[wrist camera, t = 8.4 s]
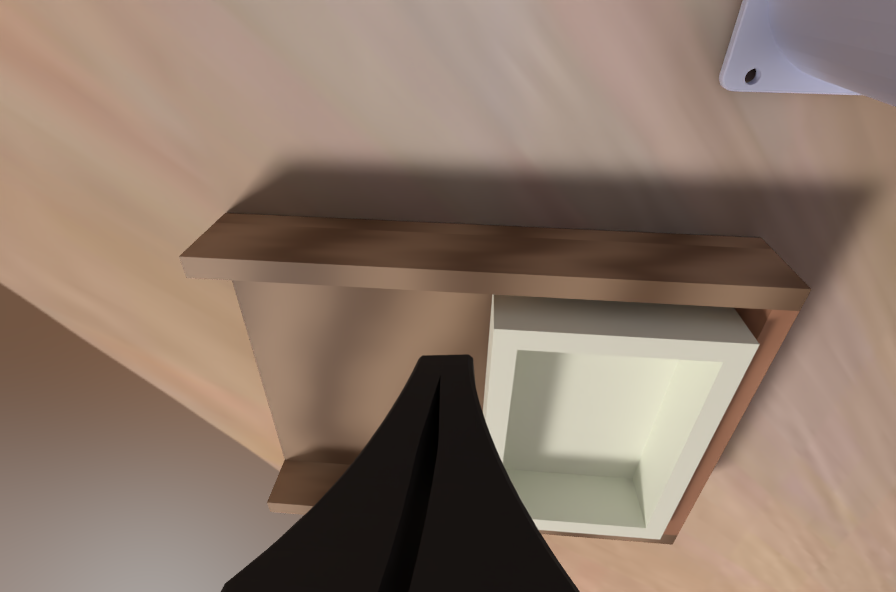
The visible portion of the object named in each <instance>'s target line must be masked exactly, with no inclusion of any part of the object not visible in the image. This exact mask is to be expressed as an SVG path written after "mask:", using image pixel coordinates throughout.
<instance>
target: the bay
mask: <svg viewBox="0 0 896 592" xmlns="http://www.w3.org/2000/svg"><path fill="white" fill-rule="evenodd" d="M179 258H180V261H181V264H182V266H183V269H184V272H185V275H186V278H198V279H216V280H232V282H233V285H234V289H235V292H236V295H237V299H238V302H239V306H240V309H241V312H242V316H243V319H244V323H245V326H246V329H247V333H248V336H249V340H250V343H251V346H252V350H253V353H254V357H255V360H256V363H257V367H258V370H259V374H260V377H261V380H262V384H263V387H264V391H265V394H266V397H267V401H268V404H269V408H270V411H271V414H272V418H273V421H274V425H275V428H276V431H277V435H278V438H279V441H280V445H281V448H282V452H283V455H284V458H285V461H284V463H283V466H282V468H281V470H280V473H279V475H278V478H277V480H276V482H275V485H274V487H273V490H272V492H271V494H270V497H269V499H268V502H267V503H268V506H269V509H270V512H279V513H290V514H291V513H292V514H303V515H305V514H306V513H307V512H308V511H309V510H310V509H311V508H312V507H313V506H314V505H315V504H316V503H317V502H318V501H319V500H320V499H321V498H322V497H323V496H324V494H325V493H326V492H327V491H328V490H329V489H330V488H331V487H332V486H333V485H334V484H335V482H336V481H337V480H338V479H339V478H340V477H341V476H342V475H343V473H344V472H345V471H346V470H347V469H348V467H349V466H350V465H351V464H352V463H353V461H354V460H355V459H356V458H357V456H358V455H359V454H360V452H361V451H362V450H363V449H364V447H365V446H366V445H367V443H368V442H369V440H370V439H371V438H372V436H373V435H374V433H375V432H376V430H377V429H378V428H379V426H380V425H381V423H382V422H383V420H384V419H385V417H386V416H387V414H388V413H389V411H390V409H391V408H392V406H393V405H394V403H395V401H396V400H397V398H398V397H399V395H400V393H401V391H402V390H403V388H404V386H405V384H406V383H407V381H408V379H409V377H410V375H411V373H412V371H413V369H414V367H415V365H416V363H417V361H418V359H419V358H420V357H421V356H422V355H463V354H469V355H470V356H471V357H473V363H474V373H475V384H476V390H477V395H478V398H479V402H480V405H481V408H482V412H483V404H484V391H485V379H486V367H487V354H488V342H489V330H490V317H491V305H492V294H493V295H511V296H530V297H548V298H567V299H585V300H604V301H622V302H640V303H659V304H677V305H696V306H714V307H733V308H735V310H736V311H737V313H738V314H739V316H740V317H741V318H742V320H743V321H744V323H745V324H746V326H747V327H748V328H749V330H750V331H751V333H752V334H753V336H754V337H755V338H756V340H757V341H758V343H759V344H760V345H759V347H758V349H757V351H756V353H755V355H754V357H753V358H752V360H751V362H750V364H749V366H748V368H747V370H746V372H745V374H744V376H743V378H742V380H741V382H740V384H739V386H738V388H737V390H736V392H735V394H734V396H733V398H732V400H731V402H730V404H729V406H728V407H727V409H726V411H725V413H724V415H723V417H722V419H721V421H720V423H719V425H718V427H717V429H716V431H715V433H714V435H713V437H712V439H711V441H710V443H709V445H708V447H707V449H706V451H705V453H704V454H703V456H702V458H701V460H700V462H699V464H698V466H697V468H696V470H695V472H694V474H693V476H692V478H691V480H690V482H689V484H688V486H687V488H686V490H685V492H684V494H683V496H682V498H681V500H680V501H679V503H678V505H677V507H676V509H675V511H674V513H673V515H672V517H671V519H670V521H669V523H668V525H667V527H666V529H665V531H664V533H663V535H662V537H661V539H660V540H659V539H646V538H634V537H622V536H609V535H597V534H584V533H572V532H560V531H547V530H539V532H540V533H541V534H549V535H562V536H574V537H586V538H599V539H611V540H623V541H636V542H648V543H660V544H673V542H674V541H675V539H676V537H677V535H678V533H679V531H680V530H681V528H682V526H683V524H684V522H685V520H686V519H687V517H688V515H689V513H690V511H691V509H692V508H693V506H694V504H695V502H696V500H697V498H698V497H699V495H700V493H701V491H702V489H703V487H704V486H705V484H706V482H707V480H708V478H709V476H710V475H711V473H712V471H713V469H714V467H715V465H716V463H717V462H718V460H719V458H720V456H721V454H722V452H723V451H724V449H725V447H726V445H727V443H728V441H729V440H730V438H731V436H732V434H733V432H734V430H735V429H736V427H737V425H738V423H739V421H740V419H741V418H742V416H743V414H744V412H745V410H746V408H747V407H748V405H749V403H750V401H751V399H752V397H753V396H754V394H755V392H756V390H757V388H758V386H759V385H760V383H761V381H762V379H763V377H764V375H765V374H766V372H767V370H768V368H769V366H770V364H771V363H772V361H773V359H774V357H775V355H776V353H777V352H778V350H779V348H780V346H781V344H782V342H783V341H784V339H785V337H786V335H787V333H788V331H789V329H790V328H791V326H792V324H793V322H794V320H795V318H796V317H797V315H798V313H799V311H800V309H801V307H802V306H803V304H804V302H805V300H806V298H807V296H808V295H809V293H810V291H811V288H810V287H809V286H808V285H807V284H806V283H805V282H804V281H803V280H802V279H801V278H800V277H799V276H798V275H797V274H796V273H795V272H794V271H793V270H792V269H791V268H790V267H789V266H788V265H787V264H786V263H785V262H784V261H783V260H782V259H781V258H780V257H779V256H778V255H777V253H776V252H775V251H774V250H773V249H772V248H771V247H770V246H769V245H768V244H767V243H766V242H765V241H764V240H763V239H762V238H755V237H733V236H712V235H690V234H668V233H647V232H625V231H604V230H582V229H560V228H539V227H517V226H496V225H474V224H452V223H431V222H409V221H388V220H366V219H344V218H323V217H301V216H280V215H258V214H236V213H225V214H224V215H223V216H222V217H221V218H219V219H218V220H217V221H216V222H215V223H214V224H213V225H212V226H211V227H210V228H209V229H208V230H207V231H206V232H205V233H204V234H202V235H201V236H200V237H199V238H198V239H197V240H196V241H195V242H194V243H193V244H192V245H191V246H190V247H189V248H188V249H186V250H185V251H184V252H183V253H182V254H181V255H180V256H179Z"/></svg>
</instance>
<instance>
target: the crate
mask: <svg viewBox="0 0 896 592" xmlns="http://www.w3.org/2000/svg"><path fill="white" fill-rule="evenodd" d="M759 345H760V344H759V343H758V341H757V340H756V338H755V337H754V336H753V334H752V333H751V331H750V330H749V328H748V327H747V326H746V324H745V323H744V321H743V320H742V318H741V317H740V316H739V314H738V313H737V311H736V310H735V308H733V307H714V306H696V305H677V304H659V303H640V302H622V301H604V300H585V299H567V298H548V297H530V296H511V295H493V294H492V305H491V317H490V330H489V342H488V354H487V367H486V379H485V391H484V404H483V415H484V418H485V421H486V424H487V426H488V429H489V432H490V435H491V437H492V440H493V442H494V445H495V447H496V449H497V452H498V454H499V456H500V459H501V461H502V463H503V465H504V467H505V469H506V471H507V474H508V476H509V478H510V480H511V482H512V484H513V486H514V488H515V489H516V491H517V493H518V495H519V497H520V499H521V501H522V503H523V504H524V506H525V508H526V509H527V511H528V513H529V515H530V516H531V518H532V520H533V521H534V523H535V525H536V527H537V528H538V530H547V531H560V532H572V533H584V534H597V535H609V536H622V537H634V538H646V539H659V540H660V539H661V537H662V535H663V533H664V531H665V529H666V527H667V525H668V523H669V521H670V519H671V517H672V515H673V513H674V511H675V509H676V507H677V505H678V503H679V501H680V500H681V498H682V496H683V494H684V492H685V490H686V488H687V486H688V484H689V482H690V480H691V478H692V476H693V474H694V472H695V470H696V468H697V466H698V464H699V462H700V460H701V458H702V456H703V454H704V453H705V451H706V449H707V447H708V445H709V443H710V441H711V439H712V437H713V435H714V433H715V431H716V429H717V427H718V425H719V423H720V421H721V419H722V417H723V415H724V413H725V411H726V409H727V407H728V406H729V404H730V402H731V400H732V398H733V396H734V394H735V392H736V390H737V388H738V386H739V384H740V382H741V380H742V378H743V376H744V374H745V372H746V370H747V368H748V366H749V364H750V362H751V360H752V358H753V357H754V355H755V353H756V351H757V349H758V347H759Z"/></svg>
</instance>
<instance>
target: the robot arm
mask: <svg viewBox="0 0 896 592" xmlns="http://www.w3.org/2000/svg"><path fill="white" fill-rule="evenodd" d="M751 69H756V75H755V77H754V79H752V80H751V81H750V82H745V76H746V74H747V72H749V71H750V70H751ZM719 81H720V85H721V86H722V87H723V88H725V89H727V90H730V91H741V92H774V93H808V94H841V95H864V96H867V97H870V98H873V99H876V100H878V101H881V102H884V103H887V104H890V105H892V106H895V107H896V0H743V1H742V5H741V8H740V11H739V14H738V17H737V21H736V24H735V27H734V30H733V33H732V36H731V40H730V43H729V46H728V49H727V52H726V56H725V59H724V62H723V65H722V68H721V72H720V76H719ZM221 592H580V591H579V590H578V588H577V587H576V586H575V584H574V583H573V581H572V580H571V579H570V577H569V576H568V574H567V573H566V571H565V570H564V569H563V567H562V566H561V564H560V563H559V561H558V560H557V558H556V557H555V555H554V554H553V552H552V551H551V549H550V548H549V546H548V544H547V543H546V541H545V540H544V538H543V537H542V535H541V533H540V532H539V530H538V528H537V527H536V525H535V523H534V521H533V520H532V518H531V516H530V515H529V513H528V511H527V509H526V508H525V506H524V504H523V503H522V501H521V499H520V497H519V495H518V493H517V491H516V489H515V488H514V486H513V484H512V482H511V480H510V478H509V476H508V474H507V471H506V469H505V467H504V465H503V463H502V461H501V459H500V456H499V454H498V452H497V449H496V447H495V445H494V442H493V440H492V437H491V435H490V432H489V429H488V426H487V424H486V421H485V418H484V415H483V412H482V408H481V405H480V402H479V398H478V395H477V390H476V384H475V373H474V363H473V357H471V356H470V355H469V354H463V355H422V356H421V357H420V358H419V359H418V361H417V363H416V365H415V367H414V369H413V371H412V373H411V375H410V377H409V379H408V381H407V383H406V384H405V386H404V388H403V390H402V391H401V393H400V395H399V397H398V398H397V400H396V401H395V403H394V405H393V406H392V408H391V409H390V411H389V413H388V414H387V416H386V417H385V419H384V420H383V422H382V423H381V425H380V426H379V428H378V429H377V430H376V432H375V433H374V435H373V436H372V438H371V439H370V440H369V442H368V443H367V445H366V446H365V447H364V449H363V450H362V451H361V452H360V454H359V455H358V456H357V458H356V459H355V460H354V461H353V463H352V464H351V465H350V466H349V467H348V469H347V470H346V471H345V472H344V473H343V475H342V476H341V477H340V478H339V479H338V480H337V481H336V482H335V484H334V485H333V486H332V487H331V488H330V489H329V490H328V491H327V492H326V493H325V494H324V496H323V497H322V498H321V499H320V500H319V501H318V502H317V503H316V504H315V505H314V506H313V507H312V508H311V509H310V510H309V511H308V512H307V513H306V514H305V515H304V516H303V517H302V518H301V519H300V520H299V521H297V522H296V523H295V524H294V525H293V526H292V527H291V528H290V529H289V530H288V531H287V532H286V533H285V534H284V535H283V536H282V537H280V538H279V539H278V540H277V541H276V542H275V543H274V544H273V545H271V546H270V547H269V548H268V549H267V550H266V551H264V552H263V553H262V554H261V555H260V556H258V557H257V558H256V559H255V560H253V561H252V562H251V563H250V564H249V565H248V566H246V567H245V568H244V569H243V570H241V571H240V572H239V573H238V574H236V575H235V576H234V577H233V578H231V579H230V580H229V581H228V582H226V583H225V585H224V587H223V589H222V590H221Z"/></svg>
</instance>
